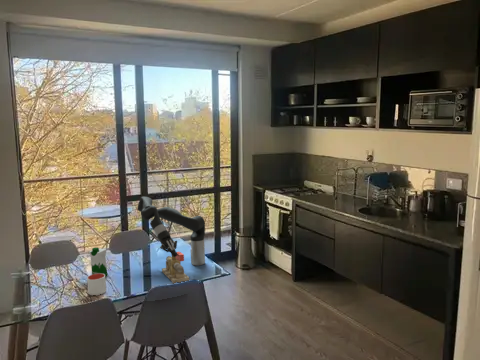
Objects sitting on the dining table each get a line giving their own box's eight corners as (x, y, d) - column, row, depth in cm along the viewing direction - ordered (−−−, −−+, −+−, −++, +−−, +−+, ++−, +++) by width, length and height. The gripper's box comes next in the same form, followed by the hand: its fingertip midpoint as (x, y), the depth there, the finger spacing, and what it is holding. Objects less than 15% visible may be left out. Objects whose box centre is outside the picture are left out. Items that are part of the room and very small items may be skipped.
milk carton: (89, 279, 264) (87, 249, 261) (98, 274, 272) (96, 244, 269) (101, 280, 261) (98, 250, 258) (110, 275, 269) (107, 245, 266)
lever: (179, 261, 251) (179, 255, 251) (170, 255, 264) (170, 249, 263) (184, 260, 253) (184, 254, 252) (175, 254, 265) (175, 248, 265)
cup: (91, 289, 247) (89, 273, 245) (108, 288, 248) (106, 272, 246) (86, 296, 237) (84, 280, 235) (104, 295, 238) (102, 279, 236)
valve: (161, 271, 273) (160, 251, 271) (176, 268, 278) (175, 249, 276) (173, 283, 252) (172, 262, 250) (189, 280, 257) (188, 259, 255)
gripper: (167, 234, 267) (180, 256, 261) (151, 239, 257) (164, 262, 251) (172, 227, 263) (186, 250, 256) (156, 232, 253) (170, 255, 246)
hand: (175, 255), depth 254 cm, fingers closed
